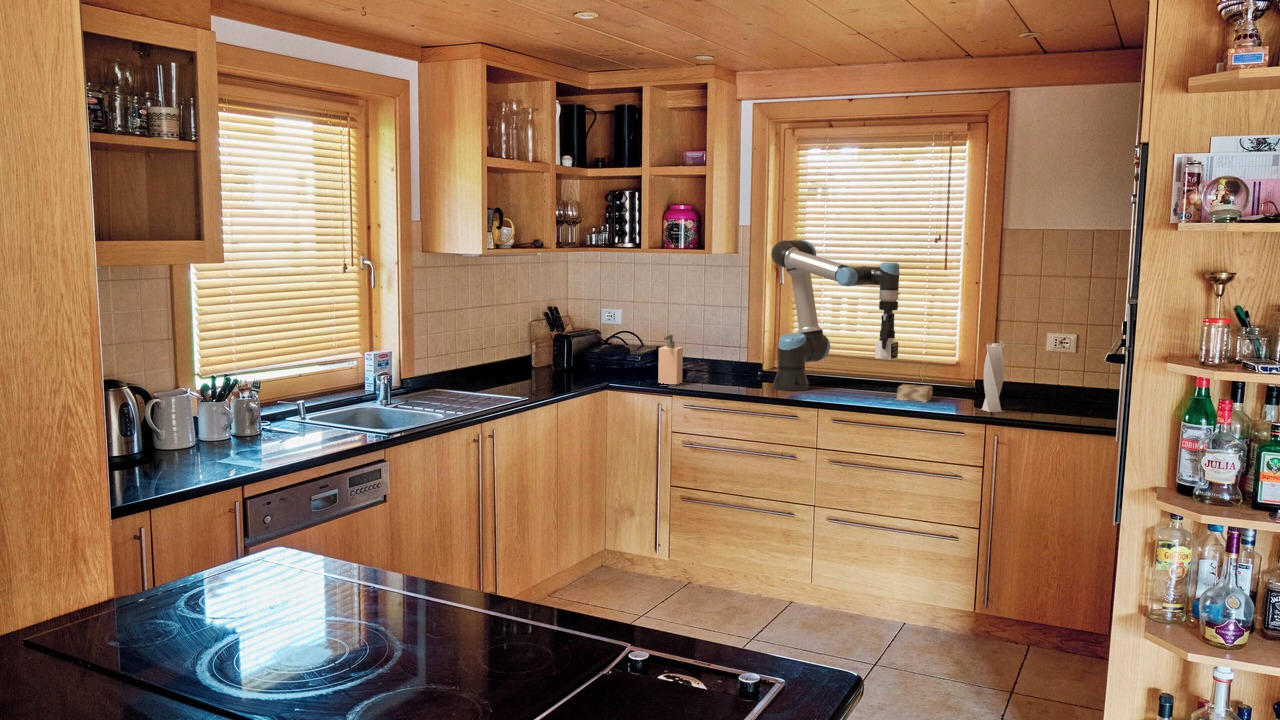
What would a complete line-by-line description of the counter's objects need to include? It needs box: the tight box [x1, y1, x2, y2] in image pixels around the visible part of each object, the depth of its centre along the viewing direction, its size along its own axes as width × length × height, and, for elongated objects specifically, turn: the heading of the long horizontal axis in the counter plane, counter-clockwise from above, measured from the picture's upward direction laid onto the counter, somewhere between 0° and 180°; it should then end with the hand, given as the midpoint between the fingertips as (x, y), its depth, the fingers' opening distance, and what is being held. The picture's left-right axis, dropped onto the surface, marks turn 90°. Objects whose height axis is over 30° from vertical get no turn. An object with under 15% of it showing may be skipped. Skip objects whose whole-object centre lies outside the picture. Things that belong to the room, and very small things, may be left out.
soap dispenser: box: [657, 334, 684, 384], centre depth 440 cm, size 13×9×22 cm
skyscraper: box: [979, 340, 1006, 413], centre depth 384 cm, size 8×8×28 cm
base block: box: [896, 383, 934, 403], centre depth 412 cm, size 12×12×5 cm
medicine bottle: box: [874, 329, 899, 361], centre depth 414 cm, size 7×7×12 cm
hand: (886, 355), depth 414 cm, fingers closed on medicine bottle, 8 cm apart
